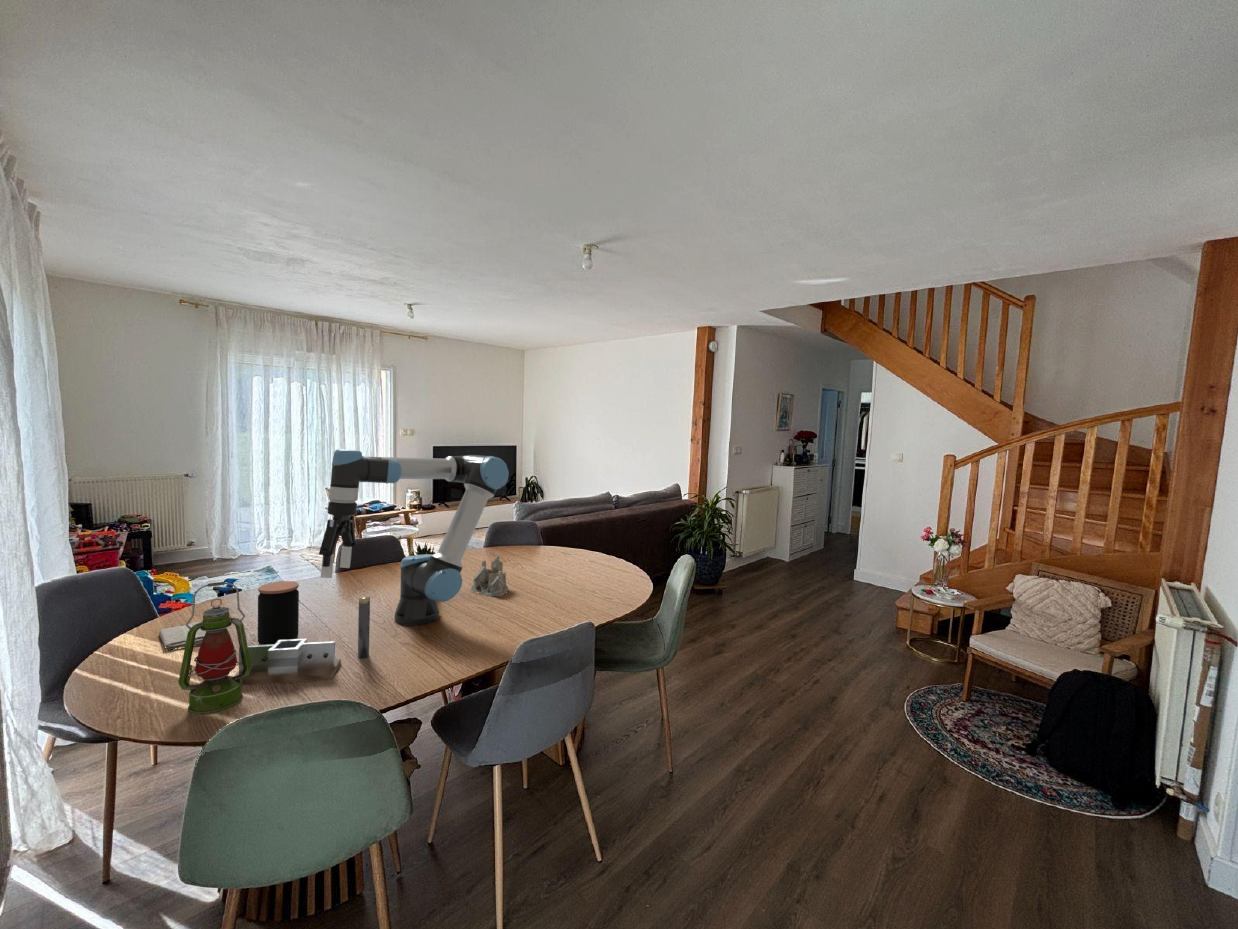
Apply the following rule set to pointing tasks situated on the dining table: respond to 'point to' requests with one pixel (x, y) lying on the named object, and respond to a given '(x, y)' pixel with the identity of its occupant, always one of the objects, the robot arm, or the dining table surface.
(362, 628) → the pin
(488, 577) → the ceramic cottage
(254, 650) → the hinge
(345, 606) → the dining table surface
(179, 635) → the washcloth
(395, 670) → the dining table surface
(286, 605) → the coffee jar
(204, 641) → the lantern
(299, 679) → the hinge board
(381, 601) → the dining table surface
